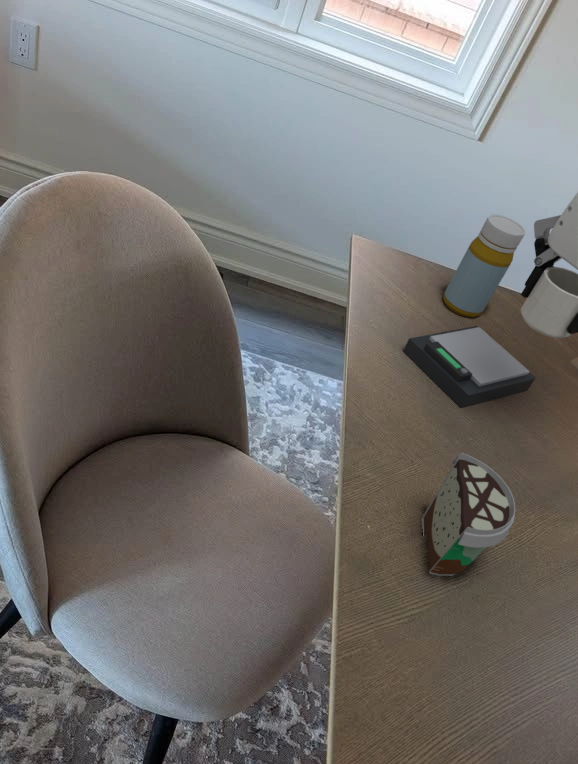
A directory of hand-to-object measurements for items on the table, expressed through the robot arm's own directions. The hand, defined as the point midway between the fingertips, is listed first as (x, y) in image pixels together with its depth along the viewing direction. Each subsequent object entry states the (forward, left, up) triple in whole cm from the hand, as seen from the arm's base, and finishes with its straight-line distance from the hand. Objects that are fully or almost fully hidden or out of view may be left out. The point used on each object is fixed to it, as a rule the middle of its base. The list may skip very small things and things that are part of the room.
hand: (552, 312), depth 93 cm
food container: (+24, +17, -18) cm, 34 cm away
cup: (0, 0, -2) cm, 2 cm away
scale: (-5, -9, -18) cm, 20 cm away
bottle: (-18, -23, -18) cm, 34 cm away
